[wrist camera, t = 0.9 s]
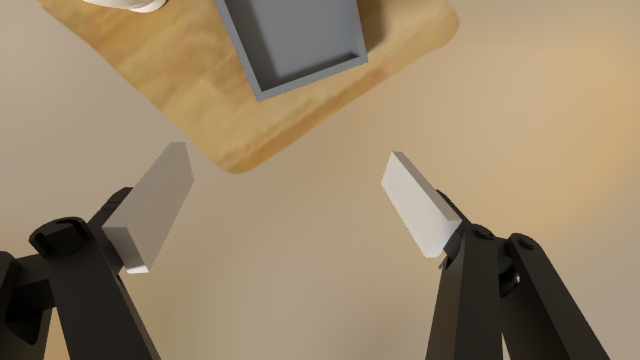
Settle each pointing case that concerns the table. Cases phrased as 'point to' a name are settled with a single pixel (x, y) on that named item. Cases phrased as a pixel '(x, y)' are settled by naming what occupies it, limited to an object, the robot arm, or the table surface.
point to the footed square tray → (293, 41)
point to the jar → (131, 4)
